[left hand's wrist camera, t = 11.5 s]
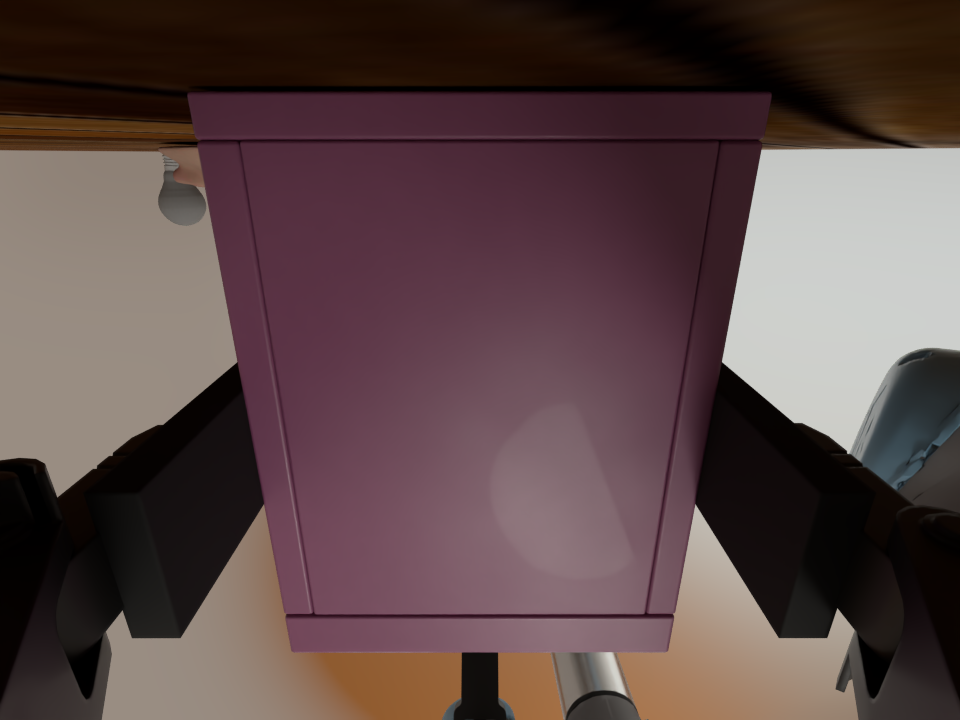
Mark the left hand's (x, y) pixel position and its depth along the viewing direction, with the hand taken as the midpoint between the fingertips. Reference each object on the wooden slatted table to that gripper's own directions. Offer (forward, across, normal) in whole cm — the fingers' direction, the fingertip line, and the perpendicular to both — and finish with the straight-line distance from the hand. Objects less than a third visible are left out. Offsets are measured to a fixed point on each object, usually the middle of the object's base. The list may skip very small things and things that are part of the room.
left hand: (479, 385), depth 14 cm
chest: (+3, 0, -7) cm, 7 cm away
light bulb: (+65, +43, -7) cm, 78 cm away
